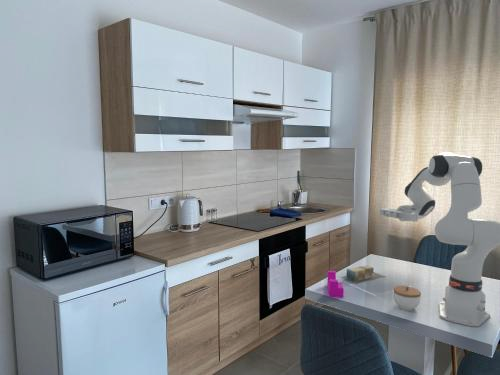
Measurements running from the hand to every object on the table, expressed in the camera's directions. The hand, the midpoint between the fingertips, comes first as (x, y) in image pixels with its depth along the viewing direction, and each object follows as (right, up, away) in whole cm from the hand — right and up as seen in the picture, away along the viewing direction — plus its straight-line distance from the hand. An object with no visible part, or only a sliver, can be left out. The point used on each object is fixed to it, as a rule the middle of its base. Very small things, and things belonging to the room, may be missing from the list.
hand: (387, 215), depth 203 cm
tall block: (-10, -29, -3) cm, 31 cm away
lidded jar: (-7, -37, -41) cm, 56 cm away
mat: (-14, -32, -5) cm, 36 cm away
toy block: (-33, -35, -23) cm, 53 cm away
